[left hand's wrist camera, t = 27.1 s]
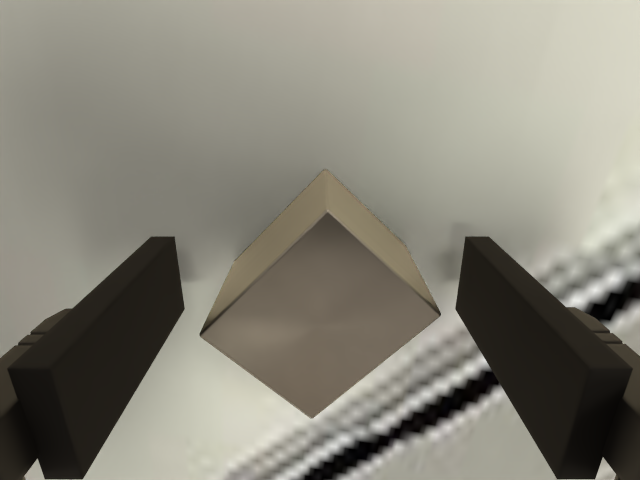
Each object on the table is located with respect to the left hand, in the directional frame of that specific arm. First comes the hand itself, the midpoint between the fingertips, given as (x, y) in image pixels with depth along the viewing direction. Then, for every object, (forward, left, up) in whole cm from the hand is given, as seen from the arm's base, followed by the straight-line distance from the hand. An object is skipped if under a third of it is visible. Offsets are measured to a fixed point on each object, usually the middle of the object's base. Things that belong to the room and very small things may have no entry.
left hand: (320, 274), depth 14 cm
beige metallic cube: (0, 0, -2) cm, 2 cm away
